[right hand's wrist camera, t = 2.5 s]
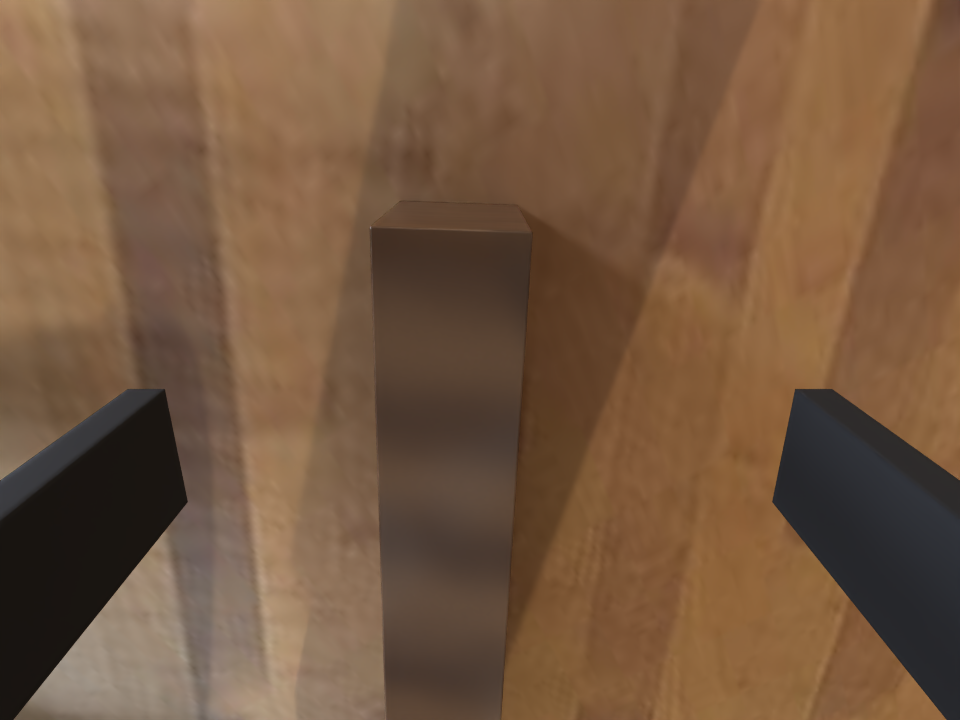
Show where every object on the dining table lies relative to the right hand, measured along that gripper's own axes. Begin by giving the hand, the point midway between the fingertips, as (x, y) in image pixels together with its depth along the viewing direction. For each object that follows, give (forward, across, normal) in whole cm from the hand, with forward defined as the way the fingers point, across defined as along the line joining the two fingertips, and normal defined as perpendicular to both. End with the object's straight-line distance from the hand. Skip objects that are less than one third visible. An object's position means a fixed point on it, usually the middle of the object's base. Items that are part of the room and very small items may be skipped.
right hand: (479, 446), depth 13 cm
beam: (+17, -2, -28) cm, 33 cm away
